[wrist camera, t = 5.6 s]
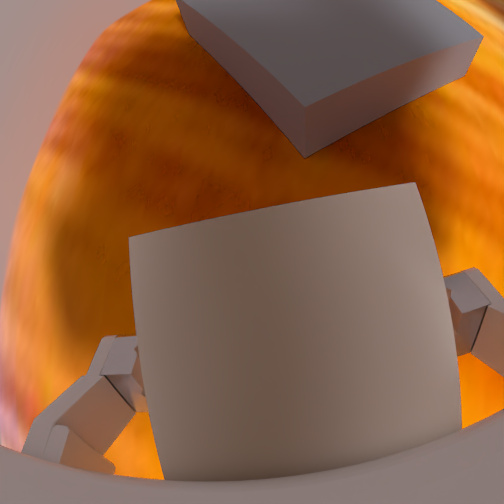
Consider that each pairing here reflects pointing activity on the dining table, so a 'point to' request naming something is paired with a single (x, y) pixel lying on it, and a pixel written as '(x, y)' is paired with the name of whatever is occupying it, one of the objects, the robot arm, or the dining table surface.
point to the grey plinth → (332, 57)
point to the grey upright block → (295, 337)
